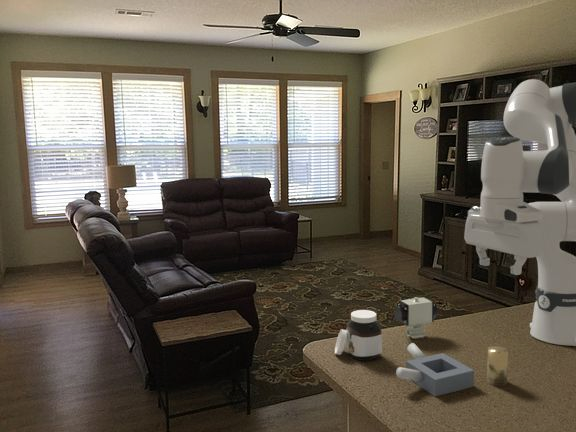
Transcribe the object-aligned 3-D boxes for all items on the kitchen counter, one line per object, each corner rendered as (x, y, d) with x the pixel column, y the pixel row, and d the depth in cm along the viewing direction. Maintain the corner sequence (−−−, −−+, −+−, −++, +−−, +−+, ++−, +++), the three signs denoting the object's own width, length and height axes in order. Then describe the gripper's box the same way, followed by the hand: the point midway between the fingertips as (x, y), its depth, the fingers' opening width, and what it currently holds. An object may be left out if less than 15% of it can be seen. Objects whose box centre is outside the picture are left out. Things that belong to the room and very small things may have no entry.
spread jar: (386, 359, 134) (386, 317, 132) (349, 367, 129) (348, 324, 128) (363, 343, 145) (362, 304, 143) (327, 351, 140) (326, 310, 139)
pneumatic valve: (438, 336, 148) (438, 297, 146) (402, 342, 144) (402, 302, 143) (427, 330, 153) (427, 292, 151) (392, 335, 150) (392, 296, 148)
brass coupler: (497, 376, 122) (498, 344, 121) (511, 384, 118) (512, 351, 117) (482, 380, 120) (483, 348, 119) (496, 388, 116) (497, 355, 115)
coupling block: (427, 358, 133) (428, 338, 132) (473, 386, 117) (474, 363, 116) (371, 371, 127) (371, 350, 126) (412, 402, 111) (412, 378, 110)
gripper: (458, 206, 122) (457, 262, 124) (526, 215, 103) (524, 281, 105) (479, 204, 124) (477, 259, 126) (549, 213, 105) (546, 277, 107)
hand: (499, 269), depth 115 cm, fingers open, 8 cm apart
